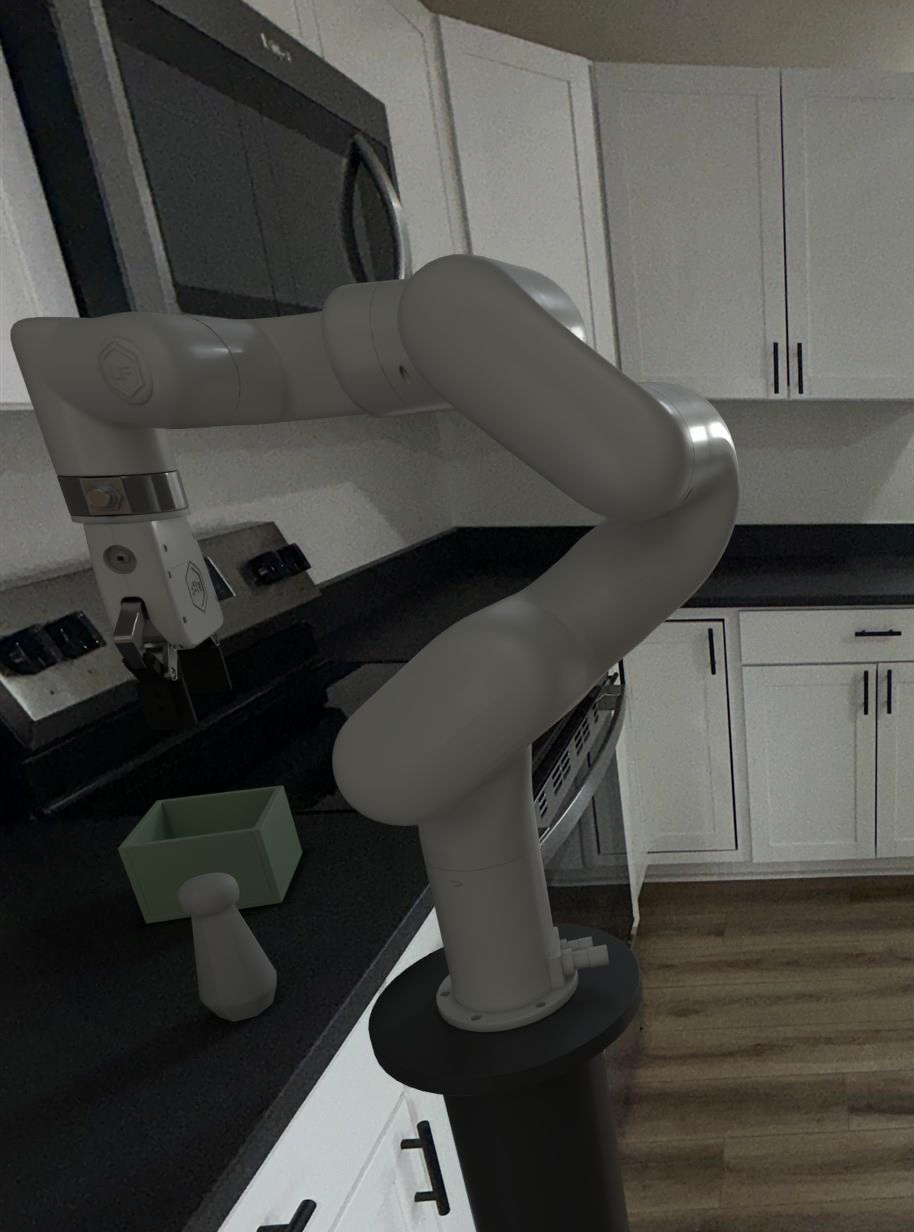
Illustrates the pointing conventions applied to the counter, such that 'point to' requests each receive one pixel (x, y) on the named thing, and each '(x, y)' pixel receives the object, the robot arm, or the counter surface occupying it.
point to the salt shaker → (226, 949)
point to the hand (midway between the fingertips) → (194, 709)
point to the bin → (212, 848)
